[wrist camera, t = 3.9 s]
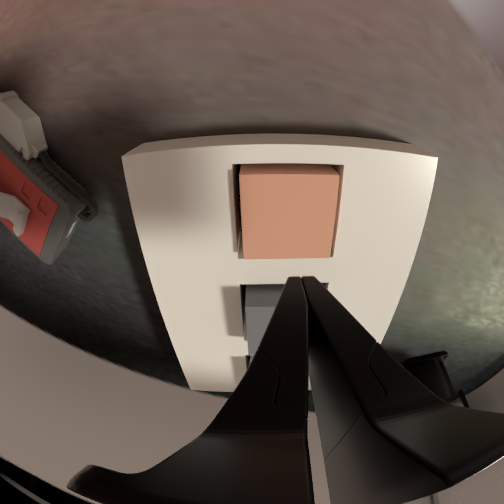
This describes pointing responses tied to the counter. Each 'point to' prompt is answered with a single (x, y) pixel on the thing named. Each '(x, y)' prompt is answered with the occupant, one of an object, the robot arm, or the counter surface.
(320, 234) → the terracotta key
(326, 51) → the counter surface
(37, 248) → the walkie-talkie
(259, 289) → the charcoal key
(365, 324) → the three-button panel
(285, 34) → the counter surface
